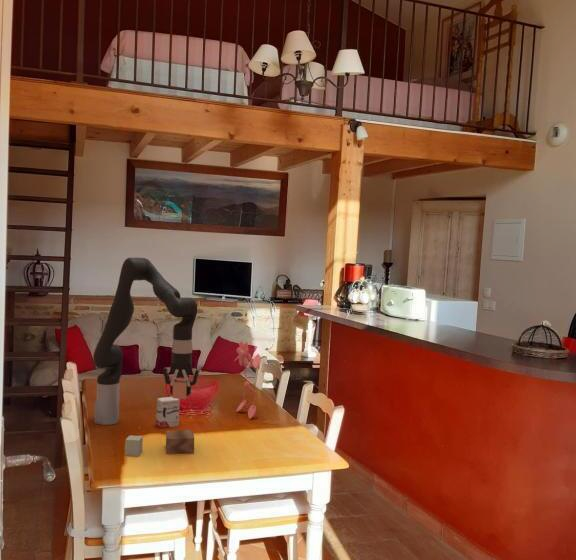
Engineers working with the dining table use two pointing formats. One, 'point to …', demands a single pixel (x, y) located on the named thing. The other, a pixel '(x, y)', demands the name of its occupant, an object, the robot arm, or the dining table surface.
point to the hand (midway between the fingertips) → (180, 395)
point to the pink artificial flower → (243, 359)
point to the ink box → (167, 412)
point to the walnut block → (180, 442)
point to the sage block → (133, 445)
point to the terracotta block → (179, 389)
